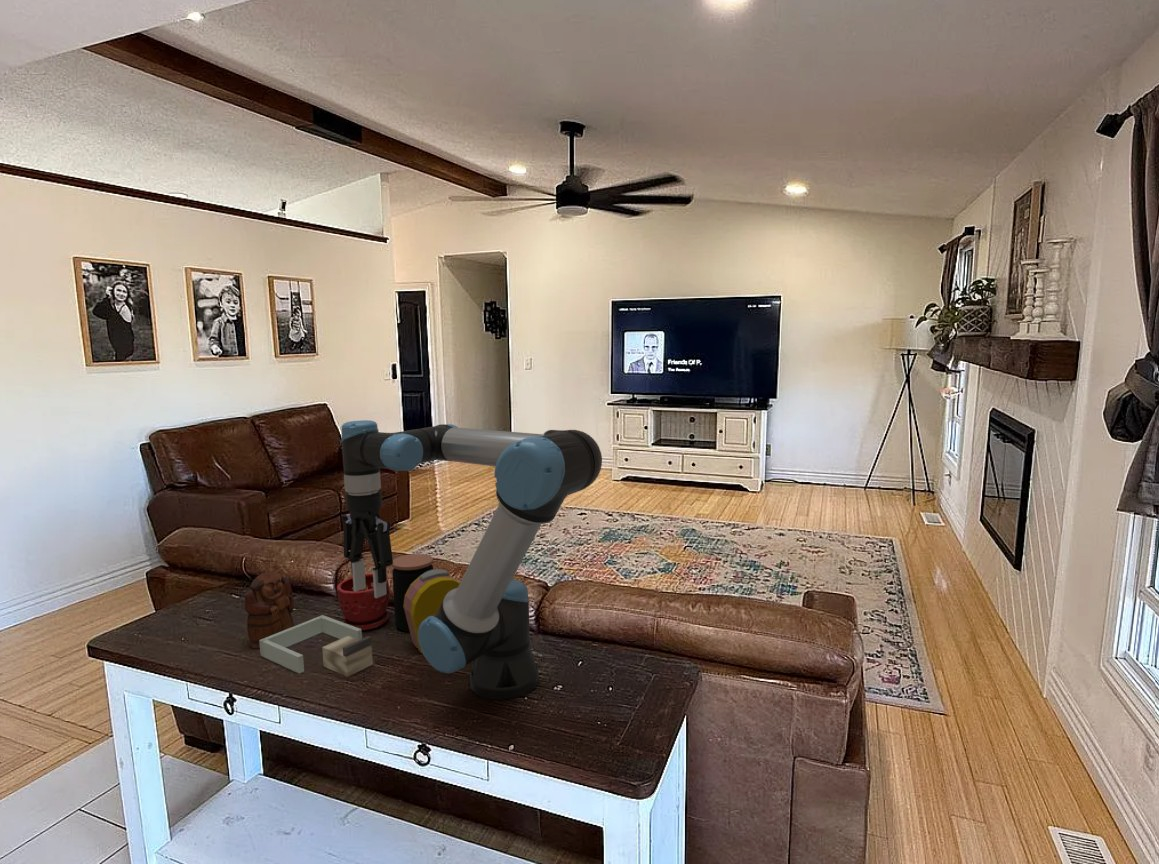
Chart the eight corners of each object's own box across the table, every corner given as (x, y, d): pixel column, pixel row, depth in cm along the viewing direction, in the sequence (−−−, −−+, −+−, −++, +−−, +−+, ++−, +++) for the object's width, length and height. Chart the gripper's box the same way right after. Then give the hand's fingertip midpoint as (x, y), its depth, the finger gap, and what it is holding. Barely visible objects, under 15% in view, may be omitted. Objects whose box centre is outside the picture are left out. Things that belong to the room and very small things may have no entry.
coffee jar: (426, 634, 170) (422, 567, 168) (388, 631, 173) (384, 565, 170) (442, 617, 181) (439, 554, 178) (406, 615, 183) (403, 552, 180)
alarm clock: (460, 629, 174) (457, 562, 171) (473, 640, 167) (470, 570, 164) (404, 643, 166) (400, 573, 163) (415, 656, 159) (411, 583, 156)
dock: (362, 644, 166) (361, 629, 165) (299, 673, 151) (298, 657, 151) (323, 629, 175) (322, 615, 174) (260, 655, 161) (259, 640, 160)
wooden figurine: (265, 652, 162) (259, 582, 160) (246, 648, 165) (239, 579, 162) (301, 632, 173) (295, 566, 171) (282, 628, 176) (276, 564, 173)
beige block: (372, 665, 155) (371, 637, 154) (347, 677, 150) (345, 648, 149) (349, 655, 160) (347, 628, 160) (323, 667, 155) (321, 638, 154)
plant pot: (351, 614, 185) (348, 573, 183) (397, 614, 184) (394, 572, 182) (331, 634, 172) (328, 590, 170) (381, 634, 171) (378, 590, 169)
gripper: (406, 493, 141) (412, 595, 144) (350, 483, 152) (356, 579, 155) (378, 500, 135) (385, 607, 138) (321, 489, 146) (328, 589, 149)
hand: (370, 592), depth 147 cm, fingers open, 6 cm apart
